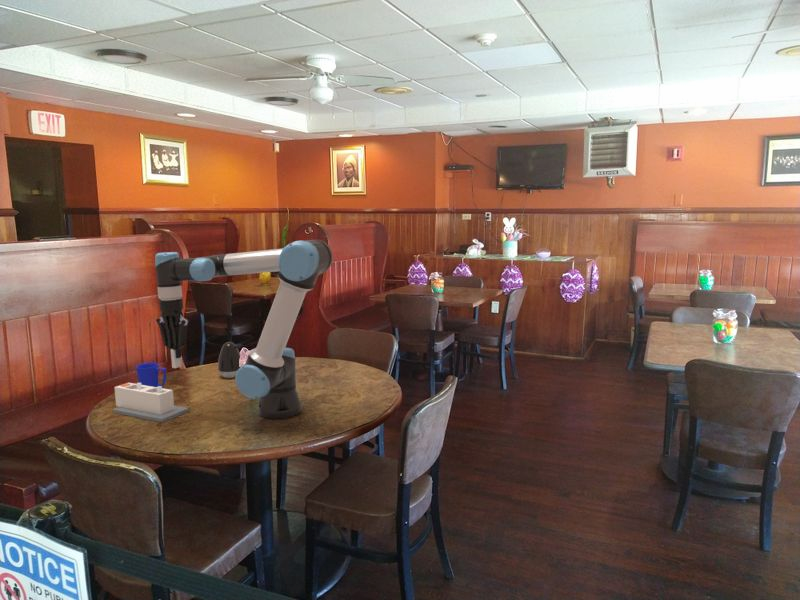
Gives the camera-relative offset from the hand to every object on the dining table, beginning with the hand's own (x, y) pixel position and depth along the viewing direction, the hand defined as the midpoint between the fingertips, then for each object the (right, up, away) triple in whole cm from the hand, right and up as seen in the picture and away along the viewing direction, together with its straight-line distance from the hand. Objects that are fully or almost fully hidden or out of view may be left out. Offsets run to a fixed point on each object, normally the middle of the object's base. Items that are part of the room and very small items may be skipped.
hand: (176, 366), depth 195 cm
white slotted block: (-15, -16, +10) cm, 24 cm away
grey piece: (-13, -17, +8) cm, 23 cm away
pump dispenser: (+3, -10, +51) cm, 53 cm away
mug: (-23, -13, +34) cm, 43 cm away
